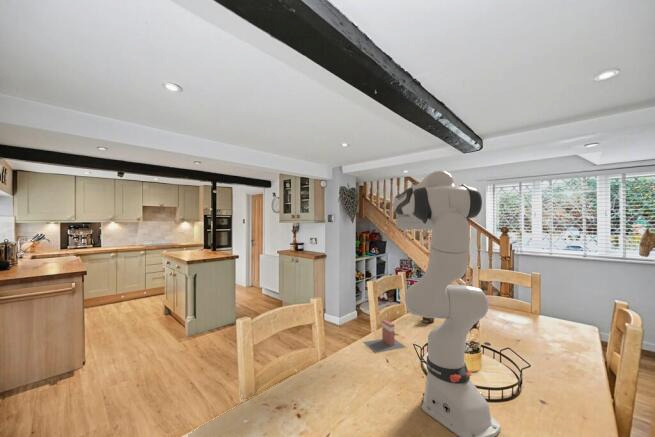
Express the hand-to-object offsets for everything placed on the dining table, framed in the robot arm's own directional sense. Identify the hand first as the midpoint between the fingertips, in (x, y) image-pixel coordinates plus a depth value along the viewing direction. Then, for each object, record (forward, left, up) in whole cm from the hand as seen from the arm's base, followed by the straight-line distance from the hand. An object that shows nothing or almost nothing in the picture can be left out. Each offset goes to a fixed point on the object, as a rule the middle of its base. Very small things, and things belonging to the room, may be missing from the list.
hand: (414, 235), depth 144 cm
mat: (-5, +23, -53) cm, 58 cm away
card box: (-4, +20, -53) cm, 57 cm away
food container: (+13, -21, -54) cm, 59 cm away
